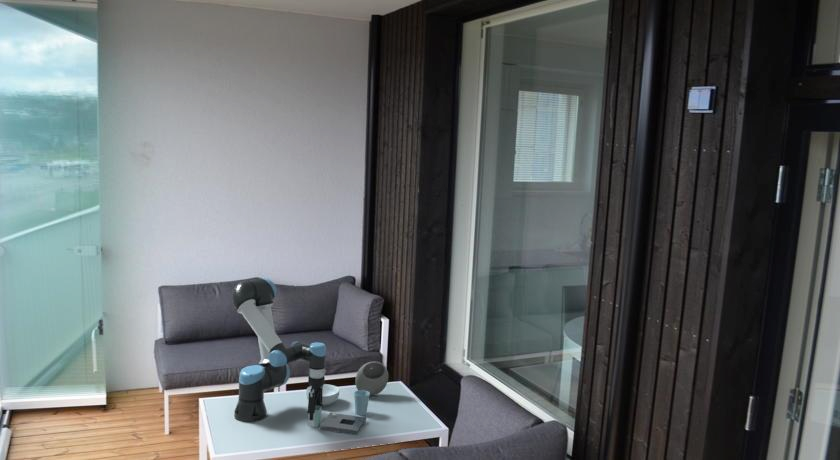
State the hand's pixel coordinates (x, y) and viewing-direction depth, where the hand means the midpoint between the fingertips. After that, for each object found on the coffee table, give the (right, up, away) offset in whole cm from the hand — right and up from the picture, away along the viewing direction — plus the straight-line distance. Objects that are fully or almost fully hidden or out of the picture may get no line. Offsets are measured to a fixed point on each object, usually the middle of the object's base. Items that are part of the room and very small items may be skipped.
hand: (314, 422), depth 330 cm
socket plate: (+13, -2, +2) cm, 14 cm away
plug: (0, -1, 0) cm, 1 cm away
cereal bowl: (0, +2, +27) cm, 27 cm away
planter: (+24, +3, +41) cm, 48 cm away
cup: (+20, 0, +18) cm, 27 cm away
